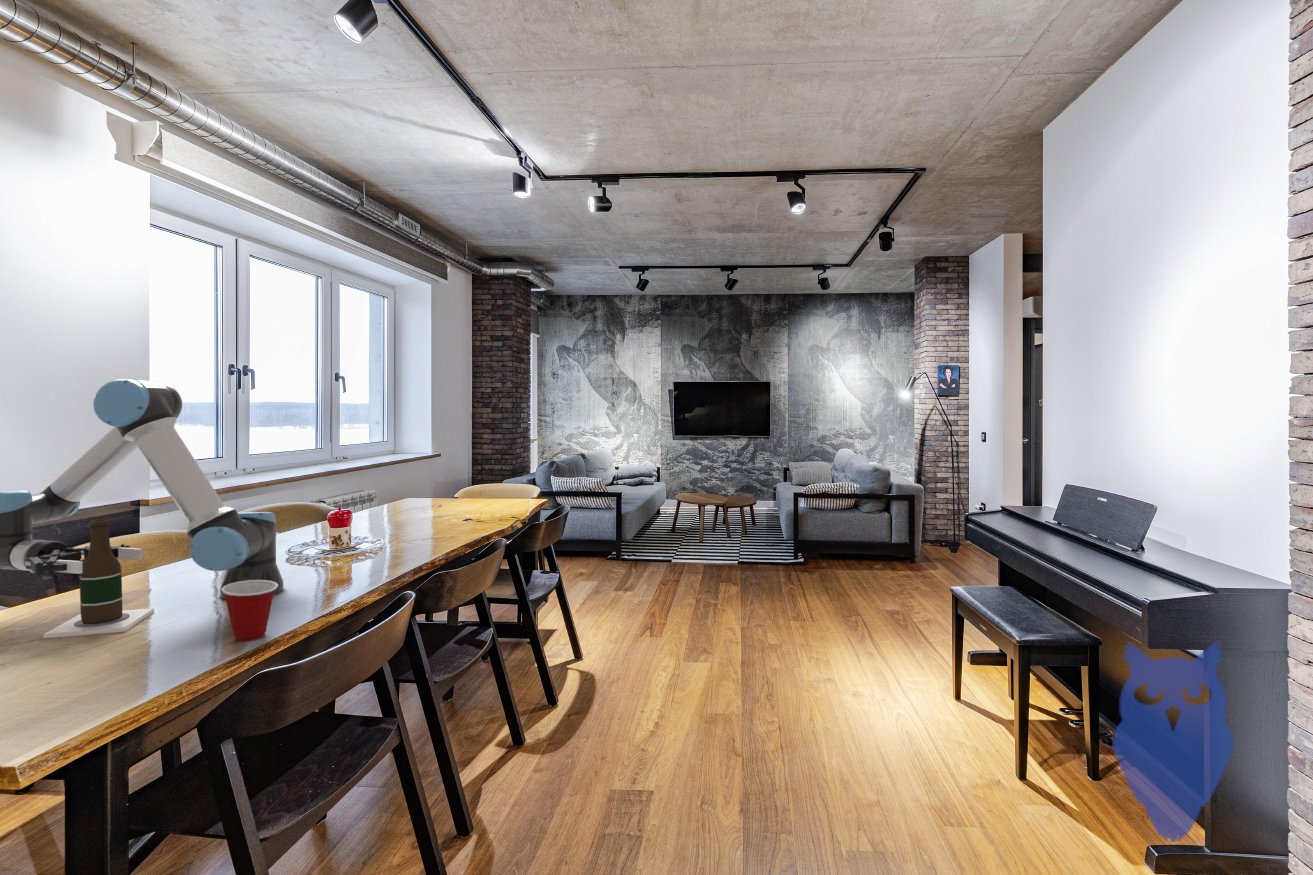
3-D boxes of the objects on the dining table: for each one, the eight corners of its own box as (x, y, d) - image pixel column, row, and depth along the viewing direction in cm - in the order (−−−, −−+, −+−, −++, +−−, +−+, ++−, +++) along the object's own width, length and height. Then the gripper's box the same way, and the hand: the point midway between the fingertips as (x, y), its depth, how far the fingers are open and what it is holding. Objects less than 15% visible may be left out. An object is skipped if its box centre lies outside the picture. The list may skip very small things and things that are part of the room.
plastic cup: (251, 647, 135) (250, 593, 134) (209, 643, 137) (208, 589, 136) (290, 630, 145) (289, 580, 145) (251, 627, 148) (250, 577, 147)
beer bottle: (131, 616, 151) (128, 518, 150) (93, 626, 143) (90, 523, 143) (110, 612, 153) (107, 516, 152) (71, 622, 146) (69, 521, 145)
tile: (154, 611, 158) (154, 607, 158) (125, 631, 144) (125, 626, 144) (81, 617, 153) (80, 612, 153) (43, 638, 139) (43, 633, 139)
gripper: (97, 559, 164) (163, 564, 160) (-23, 584, 139) (52, 590, 135) (96, 531, 164) (163, 535, 159) (-24, 551, 139) (51, 556, 135)
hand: (112, 560), depth 147 cm, fingers open, 13 cm apart
